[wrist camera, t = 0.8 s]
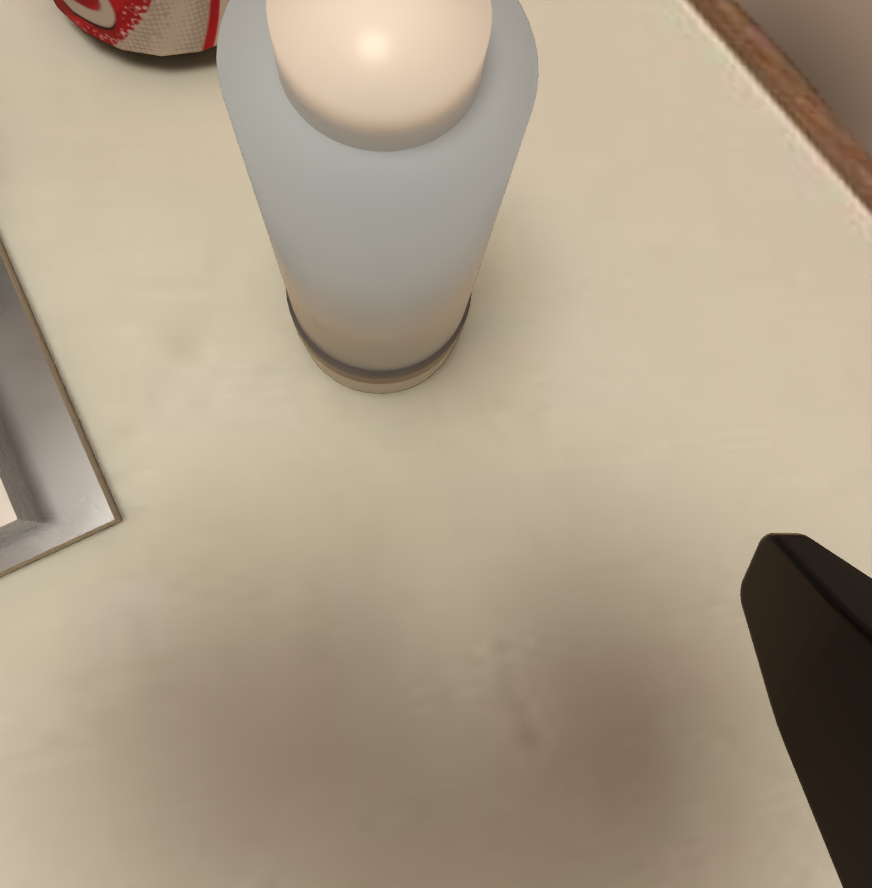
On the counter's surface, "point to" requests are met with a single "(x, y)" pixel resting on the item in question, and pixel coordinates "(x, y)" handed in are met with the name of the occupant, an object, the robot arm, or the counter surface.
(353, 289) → the bottle
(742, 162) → the counter surface
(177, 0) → the beverage can
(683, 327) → the counter surface
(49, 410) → the gray base
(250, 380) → the counter surface
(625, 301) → the counter surface
